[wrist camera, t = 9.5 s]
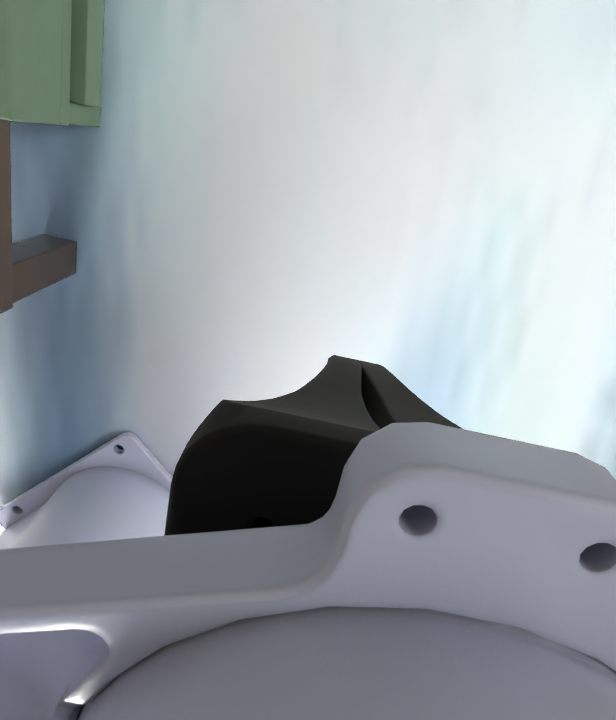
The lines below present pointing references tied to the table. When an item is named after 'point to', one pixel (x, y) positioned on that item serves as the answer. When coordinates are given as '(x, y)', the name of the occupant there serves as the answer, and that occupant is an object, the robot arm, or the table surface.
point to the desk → (26, 245)
